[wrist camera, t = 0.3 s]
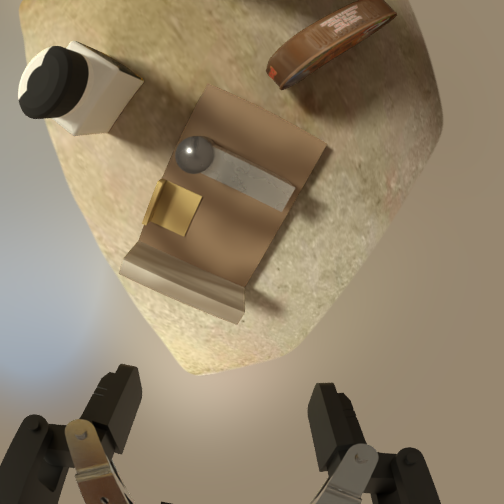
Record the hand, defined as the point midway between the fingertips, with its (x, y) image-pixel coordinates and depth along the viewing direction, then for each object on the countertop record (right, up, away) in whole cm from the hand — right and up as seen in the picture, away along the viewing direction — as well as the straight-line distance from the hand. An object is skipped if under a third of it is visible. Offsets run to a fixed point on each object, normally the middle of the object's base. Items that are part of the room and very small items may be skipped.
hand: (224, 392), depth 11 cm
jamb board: (-2, +12, +18) cm, 21 cm away
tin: (+8, +27, +11) cm, 31 cm away
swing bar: (0, +14, +15) cm, 21 cm away
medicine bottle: (-15, +24, +12) cm, 31 cm away
